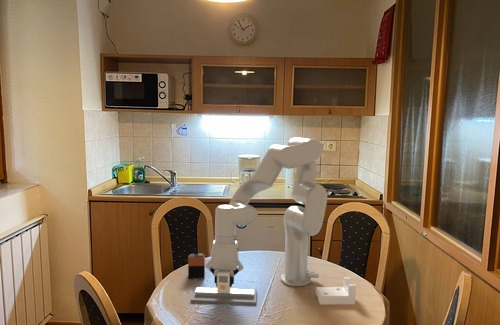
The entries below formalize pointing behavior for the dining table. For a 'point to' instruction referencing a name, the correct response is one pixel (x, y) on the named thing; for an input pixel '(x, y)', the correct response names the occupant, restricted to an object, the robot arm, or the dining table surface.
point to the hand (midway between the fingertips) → (224, 284)
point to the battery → (196, 266)
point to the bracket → (337, 293)
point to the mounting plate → (224, 299)
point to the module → (223, 280)
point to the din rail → (232, 293)
